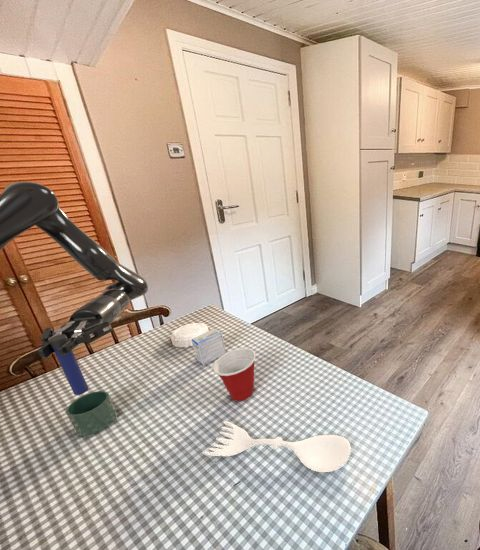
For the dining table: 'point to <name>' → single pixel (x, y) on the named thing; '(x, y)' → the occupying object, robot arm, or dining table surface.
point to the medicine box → (208, 346)
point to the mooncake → (187, 334)
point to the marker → (69, 366)
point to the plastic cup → (237, 372)
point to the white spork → (312, 452)
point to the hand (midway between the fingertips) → (51, 352)
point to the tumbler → (91, 413)
